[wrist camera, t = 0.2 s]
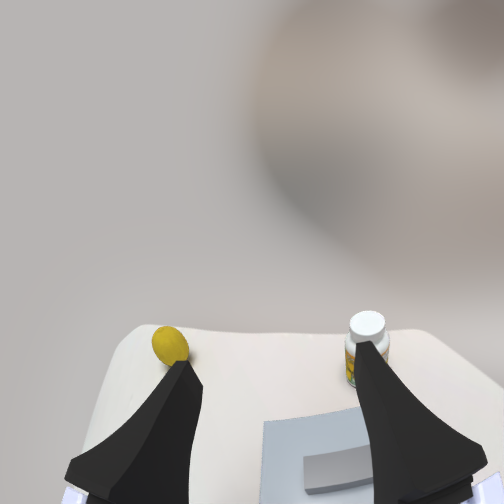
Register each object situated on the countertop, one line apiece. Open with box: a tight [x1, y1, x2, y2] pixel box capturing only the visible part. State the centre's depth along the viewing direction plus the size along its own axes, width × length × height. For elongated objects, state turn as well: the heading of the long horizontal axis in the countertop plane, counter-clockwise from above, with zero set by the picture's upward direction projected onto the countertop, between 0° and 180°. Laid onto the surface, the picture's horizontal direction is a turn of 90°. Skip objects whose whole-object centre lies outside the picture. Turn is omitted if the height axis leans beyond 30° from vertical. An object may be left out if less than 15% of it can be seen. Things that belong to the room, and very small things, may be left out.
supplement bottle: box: [345, 311, 390, 387], centre depth 28 cm, size 5×5×10 cm
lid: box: [259, 406, 374, 504], centre depth 15 cm, size 14×14×6 cm
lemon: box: [152, 326, 189, 366], centre depth 40 cm, size 6×6×8 cm
